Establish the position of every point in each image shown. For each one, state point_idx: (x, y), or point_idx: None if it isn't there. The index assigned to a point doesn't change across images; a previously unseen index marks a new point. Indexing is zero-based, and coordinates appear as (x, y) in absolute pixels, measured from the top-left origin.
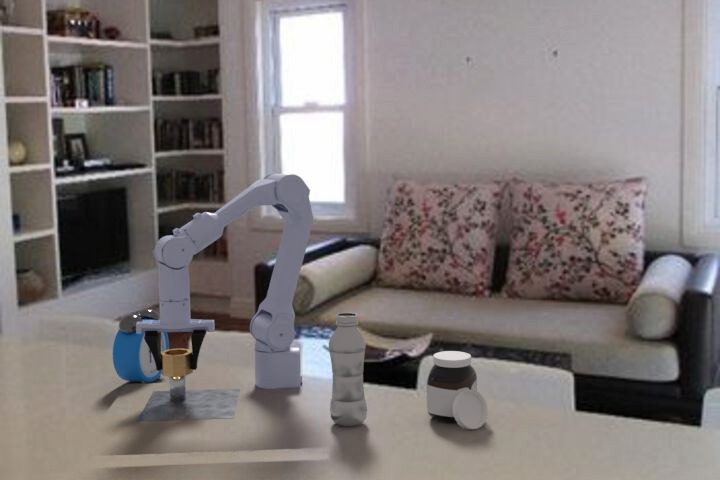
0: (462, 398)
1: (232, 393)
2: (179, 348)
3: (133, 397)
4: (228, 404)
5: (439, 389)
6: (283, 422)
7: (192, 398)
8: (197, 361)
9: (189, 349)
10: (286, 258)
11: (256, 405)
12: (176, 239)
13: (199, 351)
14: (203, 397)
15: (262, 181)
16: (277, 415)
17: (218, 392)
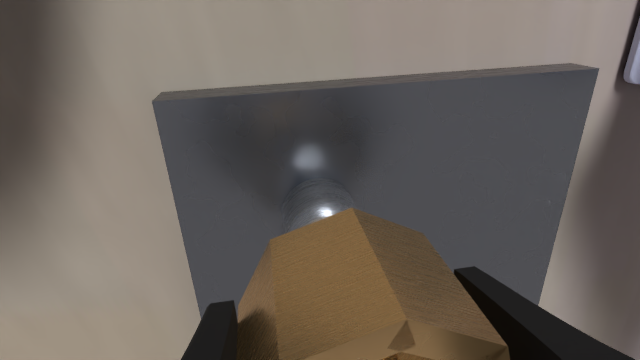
0: None
1: (553, 145)
2: (401, 323)
3: (25, 59)
4: (519, 276)
5: None
6: (633, 323)
7: (382, 214)
8: (503, 284)
9: (503, 344)
10: None
11: (603, 185)
12: None
13: (577, 334)
14: (428, 199)
15: None
16: (636, 275)
17: (495, 128)
